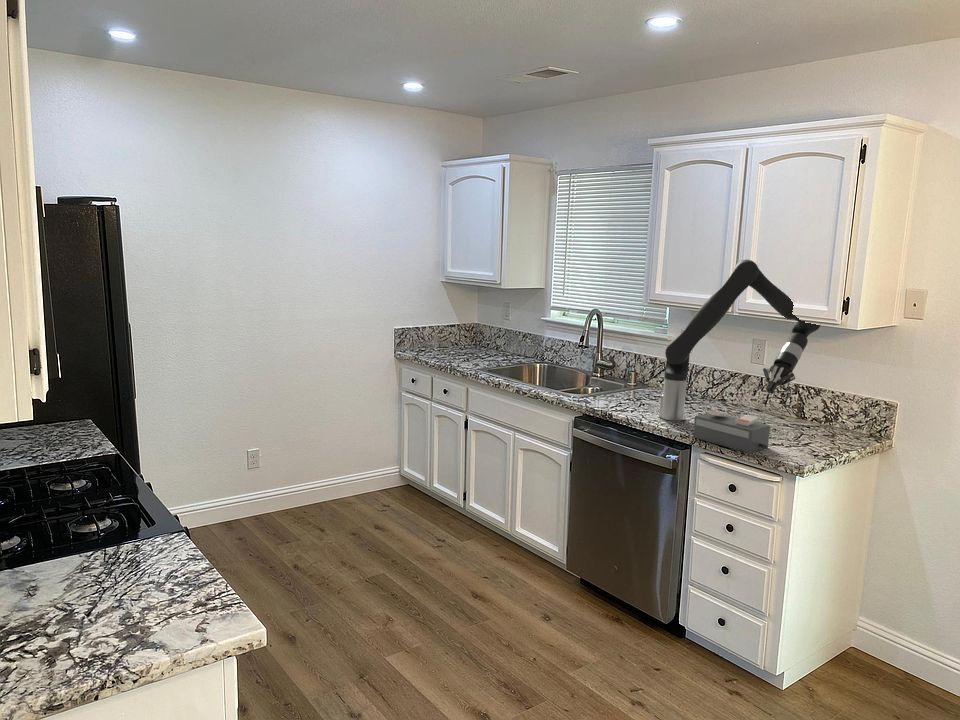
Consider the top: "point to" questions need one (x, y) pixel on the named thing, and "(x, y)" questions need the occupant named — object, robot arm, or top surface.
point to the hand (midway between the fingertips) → (768, 391)
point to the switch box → (731, 432)
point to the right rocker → (746, 420)
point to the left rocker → (718, 413)
